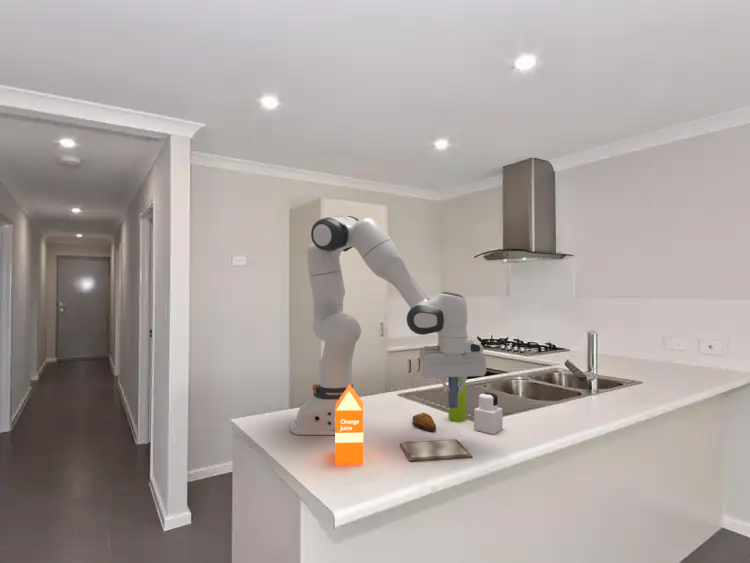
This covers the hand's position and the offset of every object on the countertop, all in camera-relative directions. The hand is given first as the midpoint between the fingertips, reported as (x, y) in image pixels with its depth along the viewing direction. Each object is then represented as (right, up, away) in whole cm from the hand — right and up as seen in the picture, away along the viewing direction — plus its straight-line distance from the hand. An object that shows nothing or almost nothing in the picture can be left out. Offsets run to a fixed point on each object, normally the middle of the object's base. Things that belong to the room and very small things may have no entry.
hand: (453, 391), depth 132 cm
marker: (0, -5, 0) cm, 5 cm away
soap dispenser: (+6, -16, +24) cm, 30 cm away
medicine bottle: (+14, -16, +13) cm, 25 cm away
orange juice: (-31, -16, -10) cm, 36 cm away
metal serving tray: (-6, -16, -5) cm, 18 cm away
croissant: (-7, -17, +17) cm, 25 cm away
